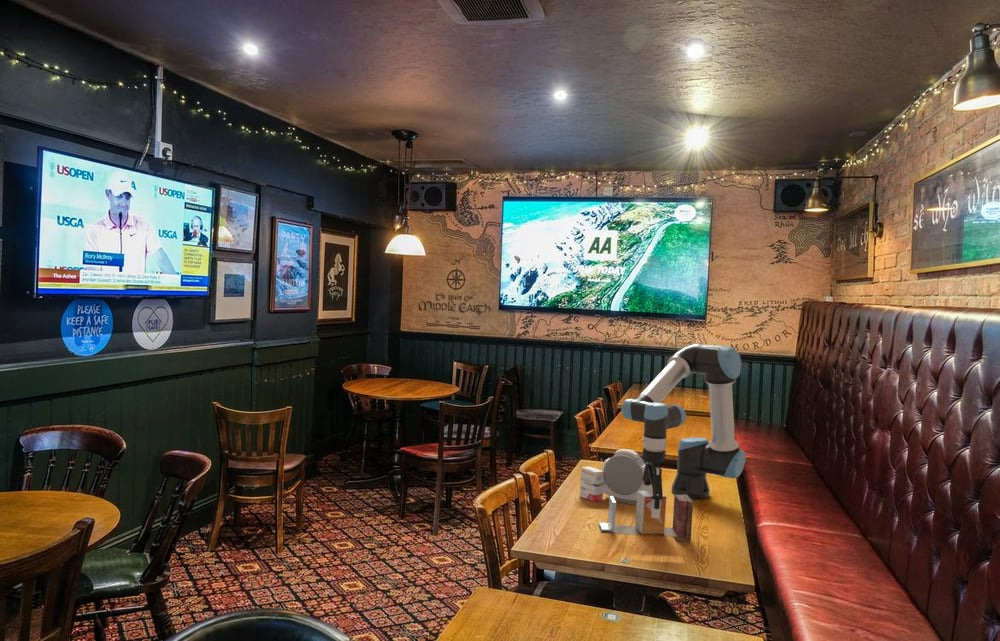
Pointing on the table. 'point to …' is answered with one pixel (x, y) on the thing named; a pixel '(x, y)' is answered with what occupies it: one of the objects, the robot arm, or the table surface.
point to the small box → (649, 514)
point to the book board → (666, 530)
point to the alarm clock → (623, 476)
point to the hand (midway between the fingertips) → (651, 510)
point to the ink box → (591, 484)
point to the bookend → (610, 516)
